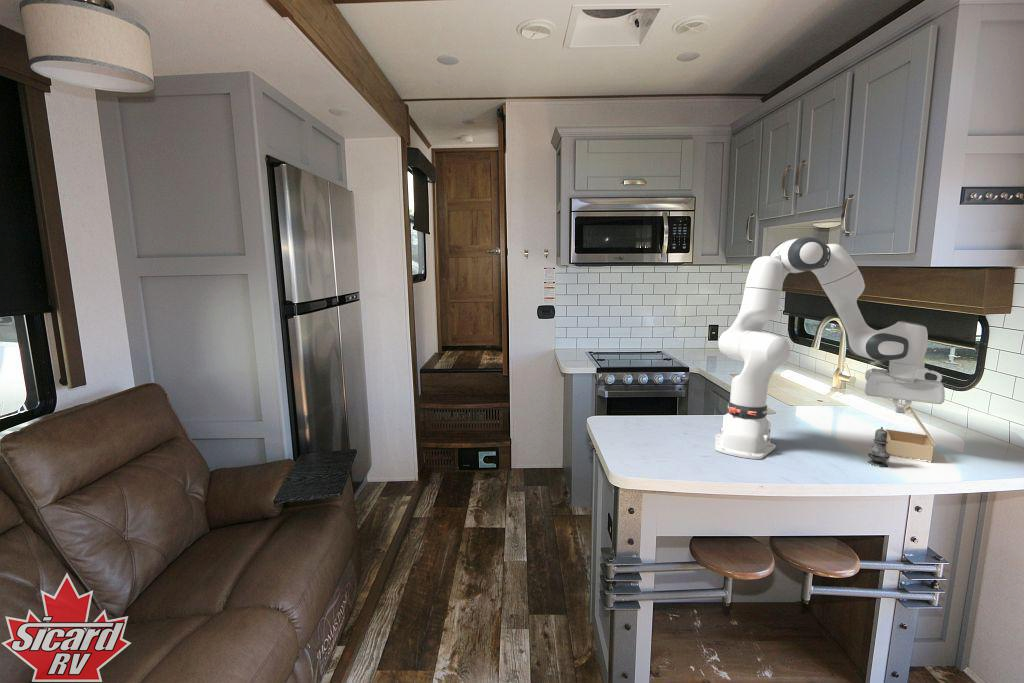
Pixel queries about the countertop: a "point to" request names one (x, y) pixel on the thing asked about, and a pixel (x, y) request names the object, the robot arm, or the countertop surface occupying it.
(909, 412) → the lid
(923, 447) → the mailer box
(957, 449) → the countertop surface
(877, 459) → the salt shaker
